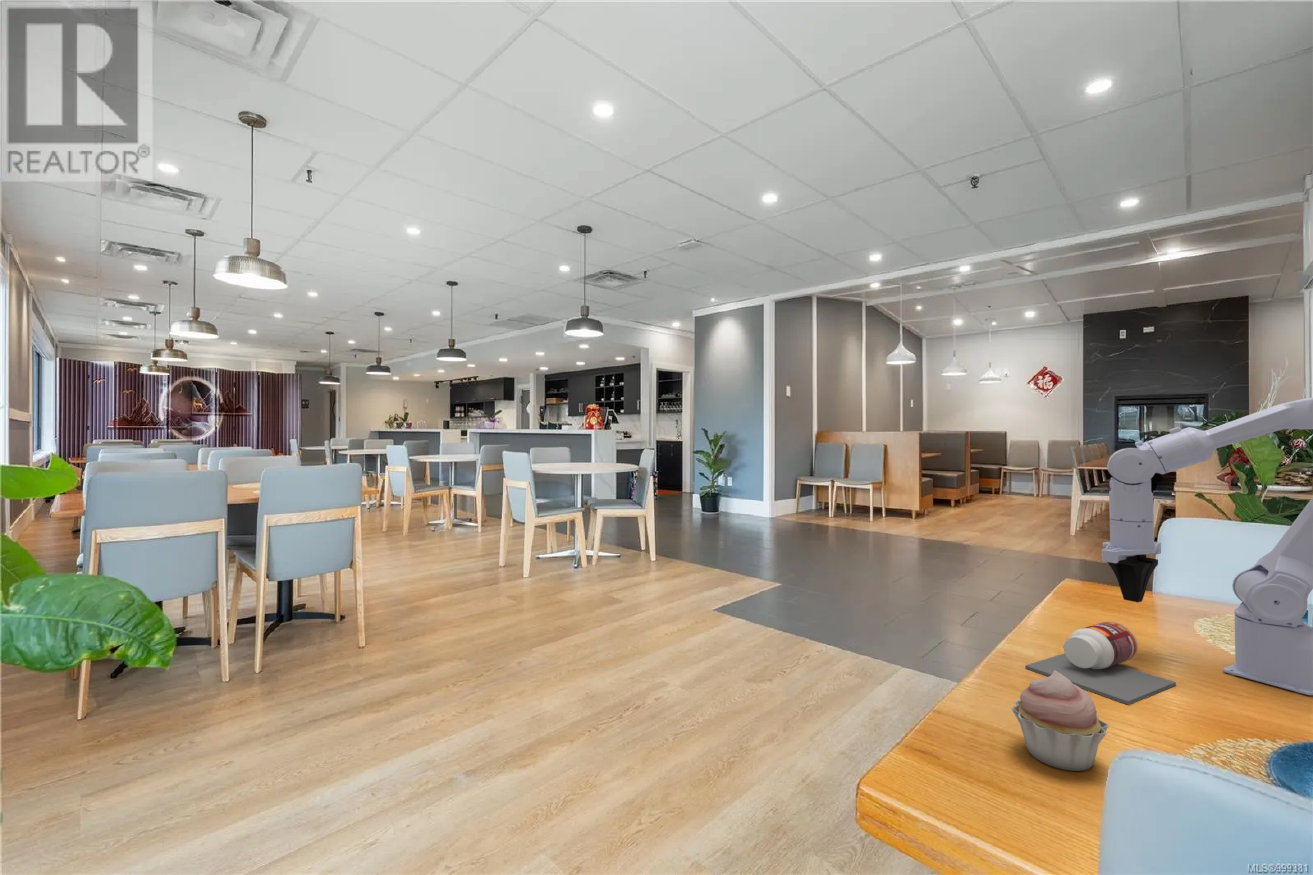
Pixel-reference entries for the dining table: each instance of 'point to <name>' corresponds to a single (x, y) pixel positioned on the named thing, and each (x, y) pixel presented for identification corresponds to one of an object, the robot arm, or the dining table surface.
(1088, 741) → the cupcake
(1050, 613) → the dining table surface
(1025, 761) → the dining table surface
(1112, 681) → the mat
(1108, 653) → the pill bottle
